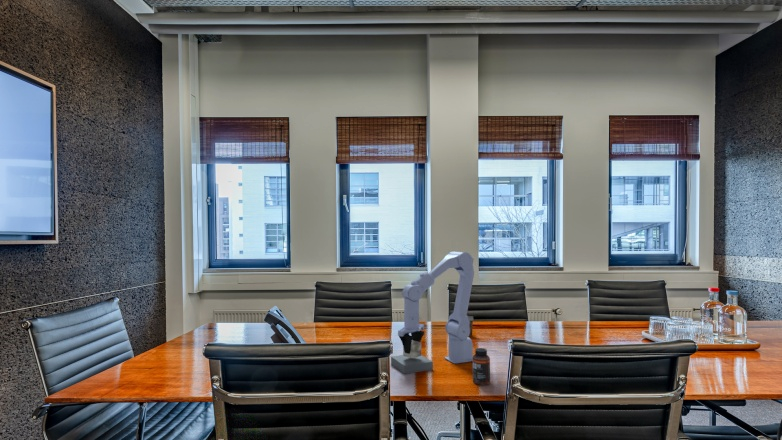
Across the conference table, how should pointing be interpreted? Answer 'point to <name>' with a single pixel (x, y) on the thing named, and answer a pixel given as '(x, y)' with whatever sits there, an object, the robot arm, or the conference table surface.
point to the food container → (470, 324)
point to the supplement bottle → (481, 367)
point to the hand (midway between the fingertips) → (411, 351)
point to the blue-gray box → (411, 364)
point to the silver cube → (413, 350)
